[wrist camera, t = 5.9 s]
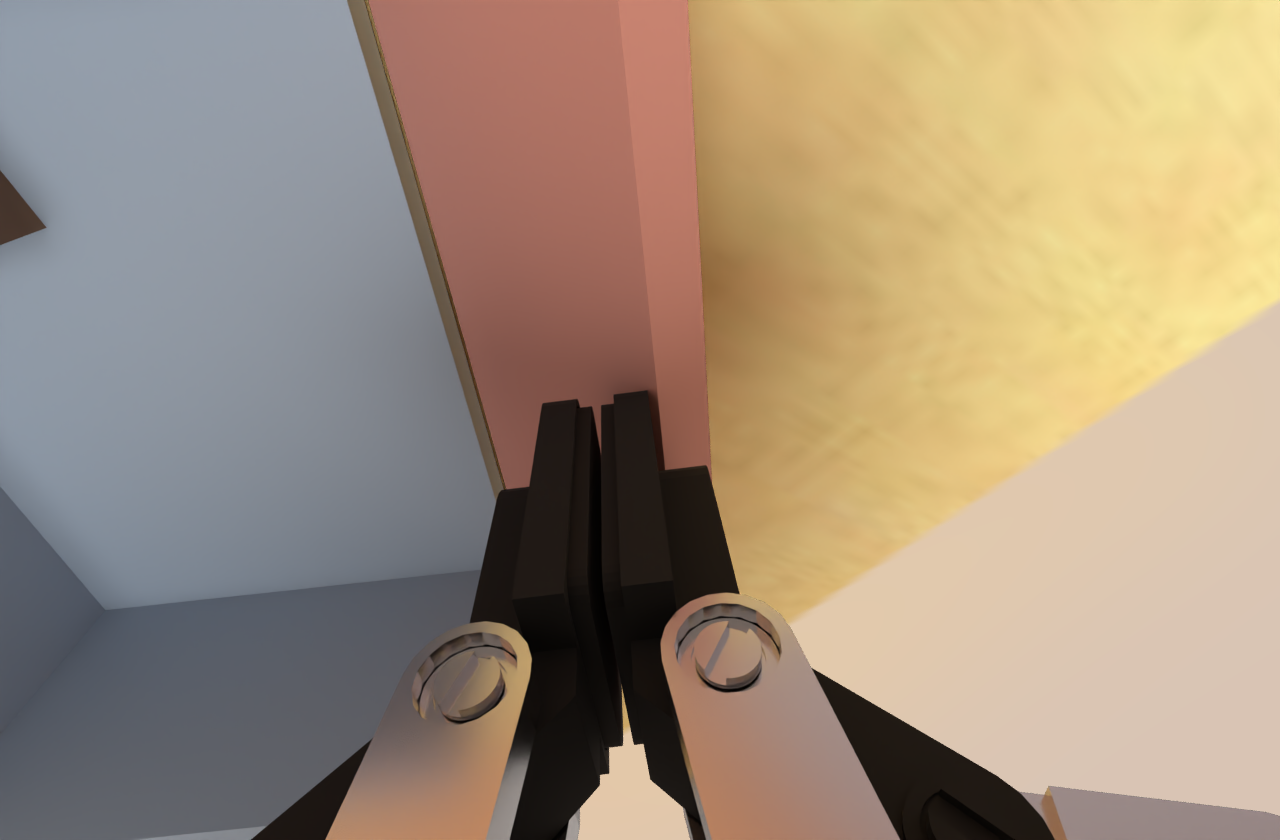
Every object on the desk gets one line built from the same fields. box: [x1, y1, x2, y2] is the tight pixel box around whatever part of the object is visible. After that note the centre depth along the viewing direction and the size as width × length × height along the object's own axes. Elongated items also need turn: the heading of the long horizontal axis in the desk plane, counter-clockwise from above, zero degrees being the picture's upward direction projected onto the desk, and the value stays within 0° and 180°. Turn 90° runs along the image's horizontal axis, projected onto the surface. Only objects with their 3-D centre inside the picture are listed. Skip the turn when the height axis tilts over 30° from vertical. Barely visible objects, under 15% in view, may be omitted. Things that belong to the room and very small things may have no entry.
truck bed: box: [0, 0, 504, 840], centre depth 13 cm, size 18×15×8 cm
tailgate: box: [368, 0, 712, 489], centre depth 12 cm, size 16×1×7 cm
